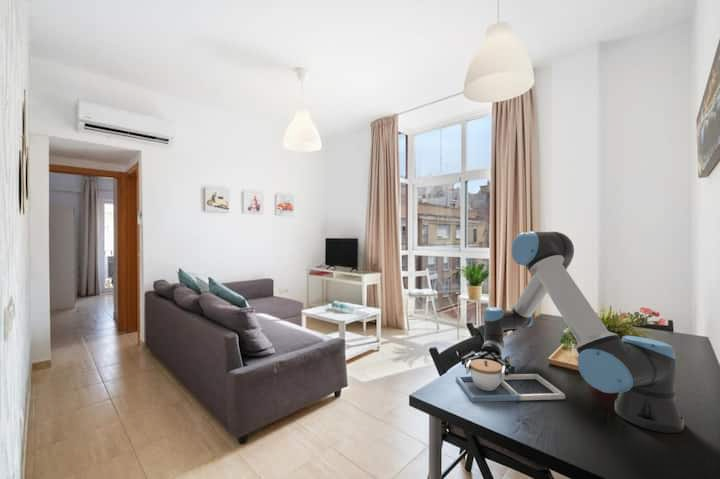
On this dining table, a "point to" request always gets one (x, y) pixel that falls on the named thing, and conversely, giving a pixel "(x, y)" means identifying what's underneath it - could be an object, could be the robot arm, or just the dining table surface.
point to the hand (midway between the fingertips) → (484, 373)
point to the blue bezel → (483, 397)
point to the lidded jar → (486, 373)
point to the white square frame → (555, 395)
